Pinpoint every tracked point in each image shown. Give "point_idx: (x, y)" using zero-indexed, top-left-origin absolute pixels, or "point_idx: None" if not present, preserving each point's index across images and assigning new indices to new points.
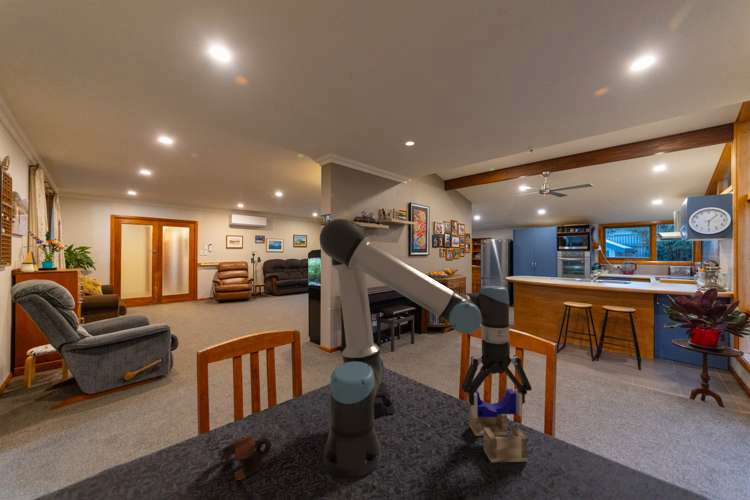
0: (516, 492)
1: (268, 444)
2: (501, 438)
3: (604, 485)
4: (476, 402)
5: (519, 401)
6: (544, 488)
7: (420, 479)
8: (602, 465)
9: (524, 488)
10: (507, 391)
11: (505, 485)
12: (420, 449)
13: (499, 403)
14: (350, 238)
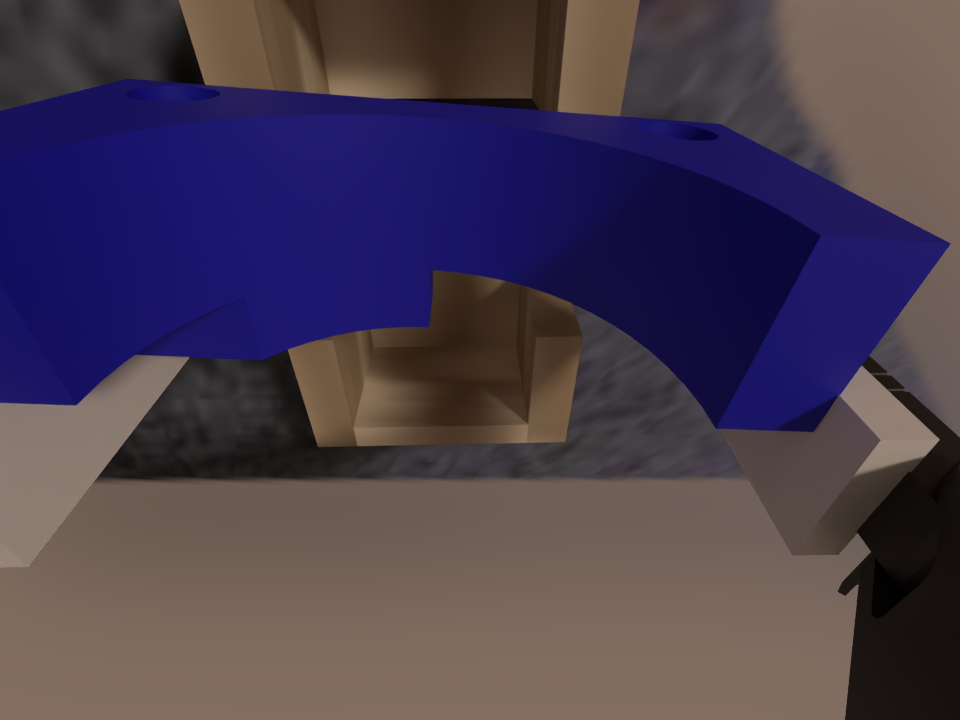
0: (403, 477)
1: None
2: (392, 440)
3: None
4: (95, 461)
5: (733, 452)
6: (519, 464)
7: None
8: (892, 372)
9: (442, 464)
10: (766, 283)
11: (373, 455)
12: None
13: (542, 179)
14: None
